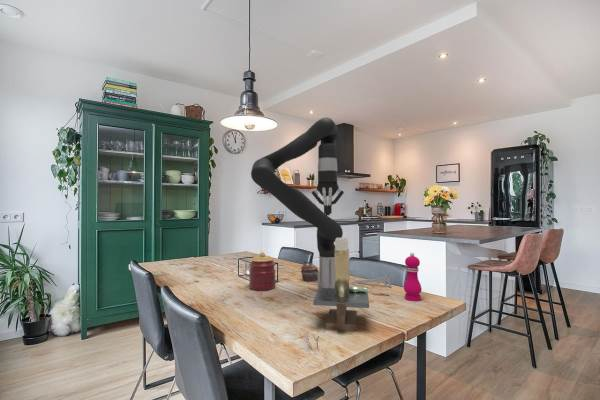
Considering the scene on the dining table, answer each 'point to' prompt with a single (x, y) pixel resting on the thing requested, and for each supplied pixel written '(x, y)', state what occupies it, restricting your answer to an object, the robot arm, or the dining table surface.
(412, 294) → the pepper mill
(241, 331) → the dining table surface
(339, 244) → the brushed metal stamp
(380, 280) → the caliper
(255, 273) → the canister
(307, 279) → the cupcake
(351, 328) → the stand
